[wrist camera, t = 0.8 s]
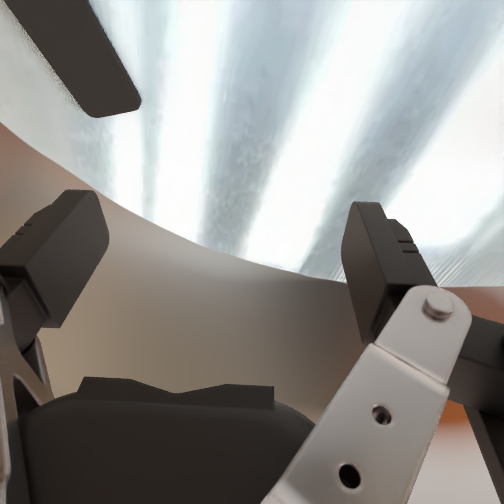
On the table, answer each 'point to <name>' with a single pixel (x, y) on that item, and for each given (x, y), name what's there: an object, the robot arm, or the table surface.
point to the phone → (79, 54)
